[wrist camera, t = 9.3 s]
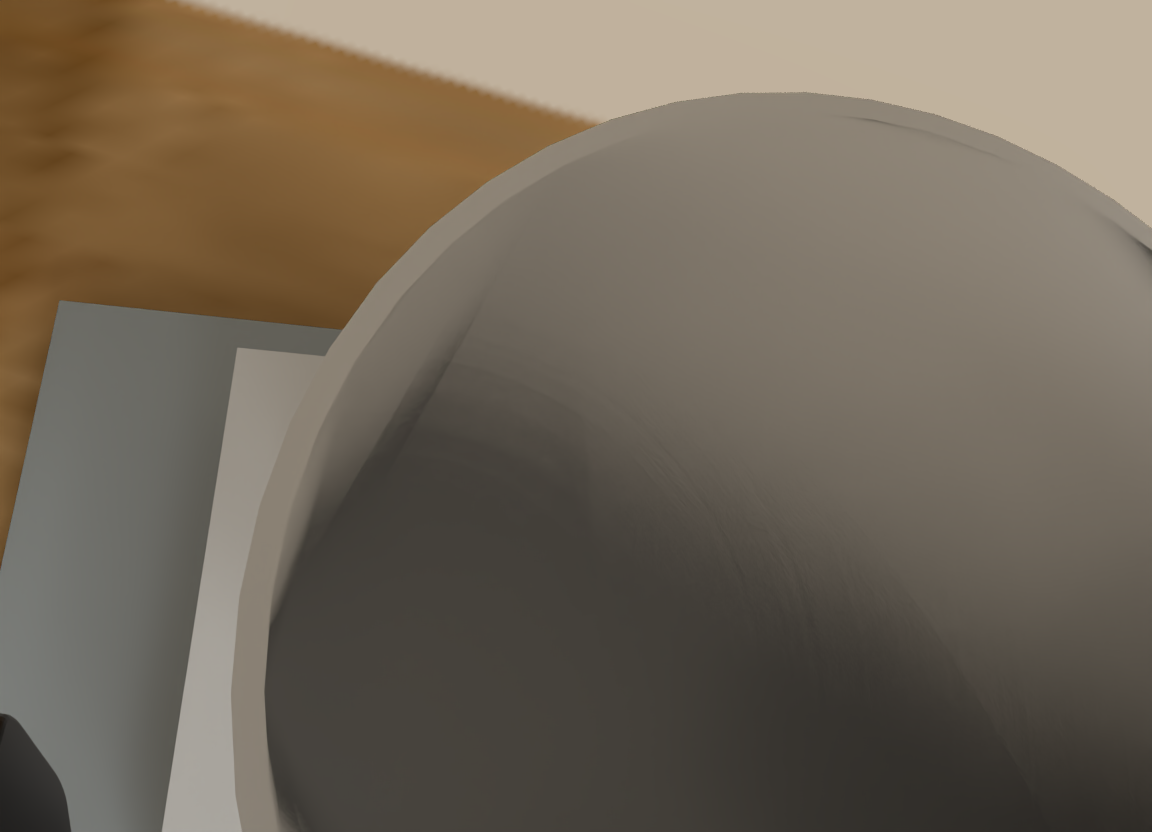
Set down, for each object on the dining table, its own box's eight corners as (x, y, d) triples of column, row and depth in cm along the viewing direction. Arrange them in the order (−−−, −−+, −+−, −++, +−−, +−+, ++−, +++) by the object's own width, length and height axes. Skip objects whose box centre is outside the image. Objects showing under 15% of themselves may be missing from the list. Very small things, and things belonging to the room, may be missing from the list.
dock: (933, 1065, 16) (1098, 1177, 12) (-85, 1092, 13) (-270, 1246, 10) (891, 404, 20) (1010, 335, 16) (78, 322, 17) (-11, 216, 13)
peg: (510, 898, 15) (1110, 1888, 2) (297, 700, 15) (-112, 720, 3) (685, 669, 16) (1579, 586, 4) (488, 493, 16) (777, -90, 4)
